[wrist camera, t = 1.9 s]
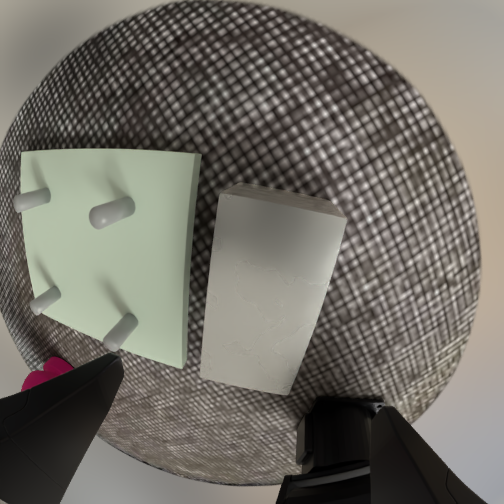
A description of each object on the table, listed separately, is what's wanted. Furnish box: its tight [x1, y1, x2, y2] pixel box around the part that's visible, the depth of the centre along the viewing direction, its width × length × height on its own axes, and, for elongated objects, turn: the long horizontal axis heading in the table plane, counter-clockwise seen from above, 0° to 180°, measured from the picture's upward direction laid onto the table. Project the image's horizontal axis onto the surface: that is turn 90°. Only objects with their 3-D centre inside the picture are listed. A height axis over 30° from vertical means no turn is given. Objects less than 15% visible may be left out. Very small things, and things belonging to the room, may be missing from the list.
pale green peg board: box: [14, 148, 202, 369], centre depth 16 cm, size 16×15×4 cm
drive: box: [200, 182, 347, 396], centre depth 14 cm, size 10×5×5 cm, turn 170°
